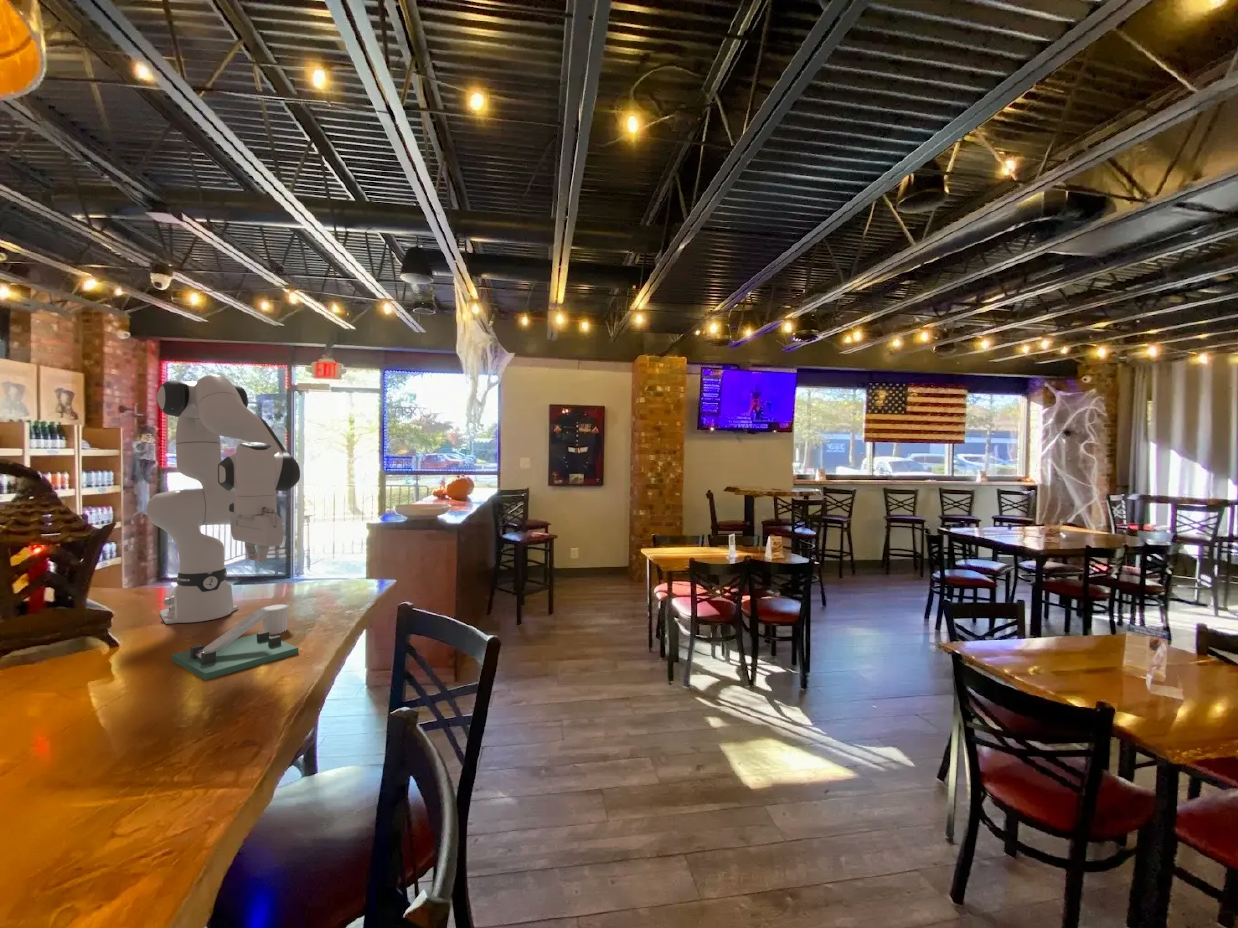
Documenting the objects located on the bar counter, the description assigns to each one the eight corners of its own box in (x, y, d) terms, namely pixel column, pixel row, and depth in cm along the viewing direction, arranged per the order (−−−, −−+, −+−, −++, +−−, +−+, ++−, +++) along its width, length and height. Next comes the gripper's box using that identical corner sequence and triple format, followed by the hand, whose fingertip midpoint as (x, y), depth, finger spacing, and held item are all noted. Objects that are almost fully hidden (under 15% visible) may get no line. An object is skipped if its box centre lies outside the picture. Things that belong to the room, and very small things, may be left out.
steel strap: (197, 659, 134) (193, 653, 134) (263, 612, 146) (259, 607, 145) (204, 662, 132) (200, 657, 131) (270, 615, 144) (266, 609, 143)
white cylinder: (295, 627, 162) (295, 603, 162) (278, 635, 155) (278, 610, 155) (273, 626, 163) (272, 602, 163) (255, 634, 156) (255, 609, 156)
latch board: (171, 660, 137) (171, 644, 137) (261, 637, 153) (261, 623, 153) (205, 680, 126) (205, 662, 125) (298, 653, 142) (298, 637, 142)
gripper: (289, 508, 139) (290, 563, 140) (251, 503, 151) (252, 554, 151) (262, 510, 134) (262, 568, 134) (224, 505, 146) (225, 558, 146)
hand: (257, 560), depth 143 cm, fingers open, 3 cm apart
